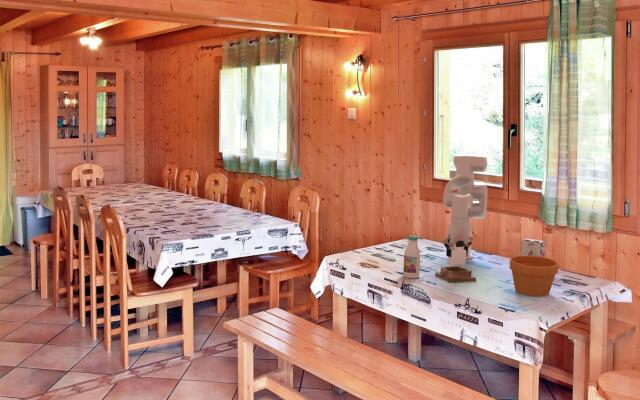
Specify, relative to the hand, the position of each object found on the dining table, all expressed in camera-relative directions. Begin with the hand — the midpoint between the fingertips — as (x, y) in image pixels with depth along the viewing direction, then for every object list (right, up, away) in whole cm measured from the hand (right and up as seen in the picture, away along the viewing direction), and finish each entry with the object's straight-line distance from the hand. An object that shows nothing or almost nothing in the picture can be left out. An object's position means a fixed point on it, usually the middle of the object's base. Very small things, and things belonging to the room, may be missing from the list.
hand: (456, 255), depth 310 cm
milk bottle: (-22, -10, +2) cm, 24 cm away
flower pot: (+30, -15, -20) cm, 39 cm away
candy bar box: (+43, -10, +21) cm, 48 cm away
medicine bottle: (0, -4, +1) cm, 4 cm away
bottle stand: (0, -11, +2) cm, 11 cm away
